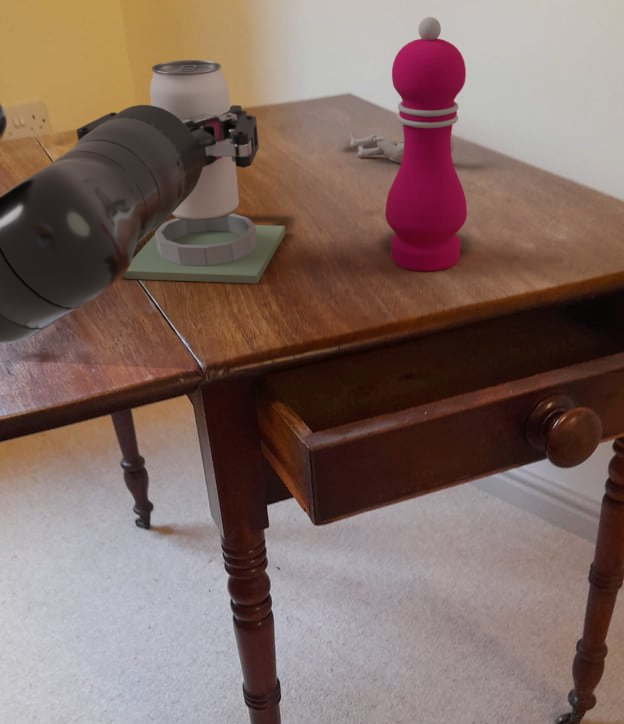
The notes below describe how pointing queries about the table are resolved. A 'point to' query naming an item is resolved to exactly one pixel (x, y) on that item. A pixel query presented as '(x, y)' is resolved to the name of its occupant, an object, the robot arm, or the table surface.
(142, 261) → the dock pad
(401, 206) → the pepper mill
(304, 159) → the table surface
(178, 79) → the can
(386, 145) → the soldier figure
